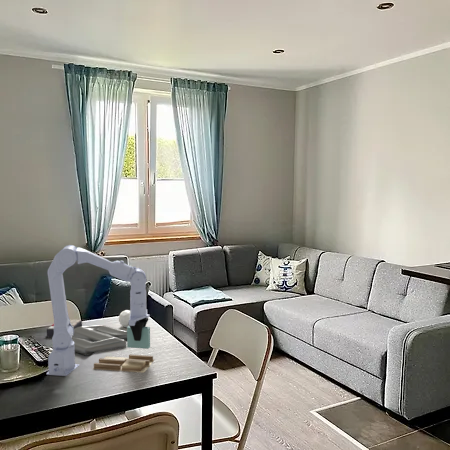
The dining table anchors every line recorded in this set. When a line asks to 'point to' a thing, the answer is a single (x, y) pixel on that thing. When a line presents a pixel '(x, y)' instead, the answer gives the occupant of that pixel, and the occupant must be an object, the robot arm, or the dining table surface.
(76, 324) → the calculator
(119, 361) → the rack
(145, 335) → the teal panel
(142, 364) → the oak offcut
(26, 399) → the dining table surface
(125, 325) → the geometric ball
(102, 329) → the emblem
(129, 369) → the tan flat block
